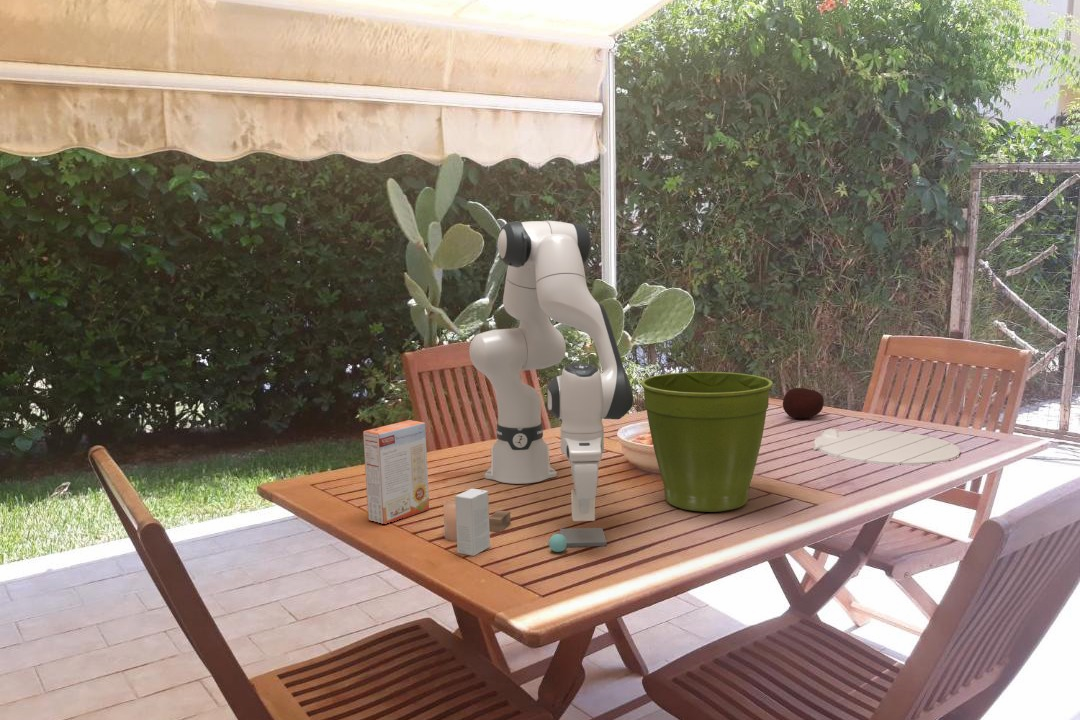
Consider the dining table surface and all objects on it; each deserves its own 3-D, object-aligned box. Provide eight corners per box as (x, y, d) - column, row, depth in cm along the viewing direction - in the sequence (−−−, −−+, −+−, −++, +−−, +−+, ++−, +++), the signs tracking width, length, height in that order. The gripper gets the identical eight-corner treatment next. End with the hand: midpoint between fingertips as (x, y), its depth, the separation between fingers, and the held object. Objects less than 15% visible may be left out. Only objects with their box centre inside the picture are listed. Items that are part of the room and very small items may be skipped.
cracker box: (412, 505, 217) (409, 418, 214) (430, 510, 214) (427, 421, 211) (366, 521, 207) (361, 429, 204) (384, 526, 203) (380, 433, 200)
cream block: (571, 514, 194) (571, 489, 193) (593, 513, 194) (592, 488, 193) (573, 521, 189) (572, 495, 189) (594, 520, 189) (594, 494, 189)
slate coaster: (560, 532, 197) (560, 528, 197) (602, 531, 197) (602, 527, 197) (562, 547, 188) (562, 543, 188) (606, 545, 188) (606, 542, 188)
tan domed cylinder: (445, 531, 199) (444, 499, 198) (478, 530, 199) (477, 498, 198) (443, 542, 192) (442, 509, 191) (477, 541, 192) (476, 508, 191)
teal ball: (548, 548, 187) (548, 531, 187) (566, 548, 187) (566, 531, 187) (549, 554, 184) (549, 537, 183) (567, 554, 184) (567, 537, 183)
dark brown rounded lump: (826, 422, 300) (827, 391, 299) (784, 422, 302) (785, 390, 300) (819, 415, 311) (820, 385, 310) (779, 415, 313) (780, 385, 311)
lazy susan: (784, 449, 267) (785, 437, 267) (854, 427, 293) (854, 417, 293) (919, 475, 238) (920, 462, 238) (983, 448, 264) (984, 437, 264)
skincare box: (473, 544, 191) (471, 487, 189) (490, 547, 188) (489, 490, 187) (456, 553, 185) (454, 495, 184) (473, 556, 183) (471, 498, 182)
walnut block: (497, 523, 204) (497, 510, 204) (510, 524, 203) (510, 511, 203) (487, 532, 199) (487, 518, 198) (500, 533, 198) (500, 519, 197)
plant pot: (776, 489, 226) (778, 373, 222) (762, 527, 198) (764, 395, 194) (656, 480, 236) (656, 369, 232) (627, 514, 208) (626, 389, 204)
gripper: (564, 432, 200) (564, 494, 202) (570, 455, 179) (570, 524, 181) (593, 431, 200) (593, 493, 202) (602, 454, 180) (603, 523, 181)
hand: (583, 508), depth 191 cm, fingers closed on cream block, 4 cm apart
